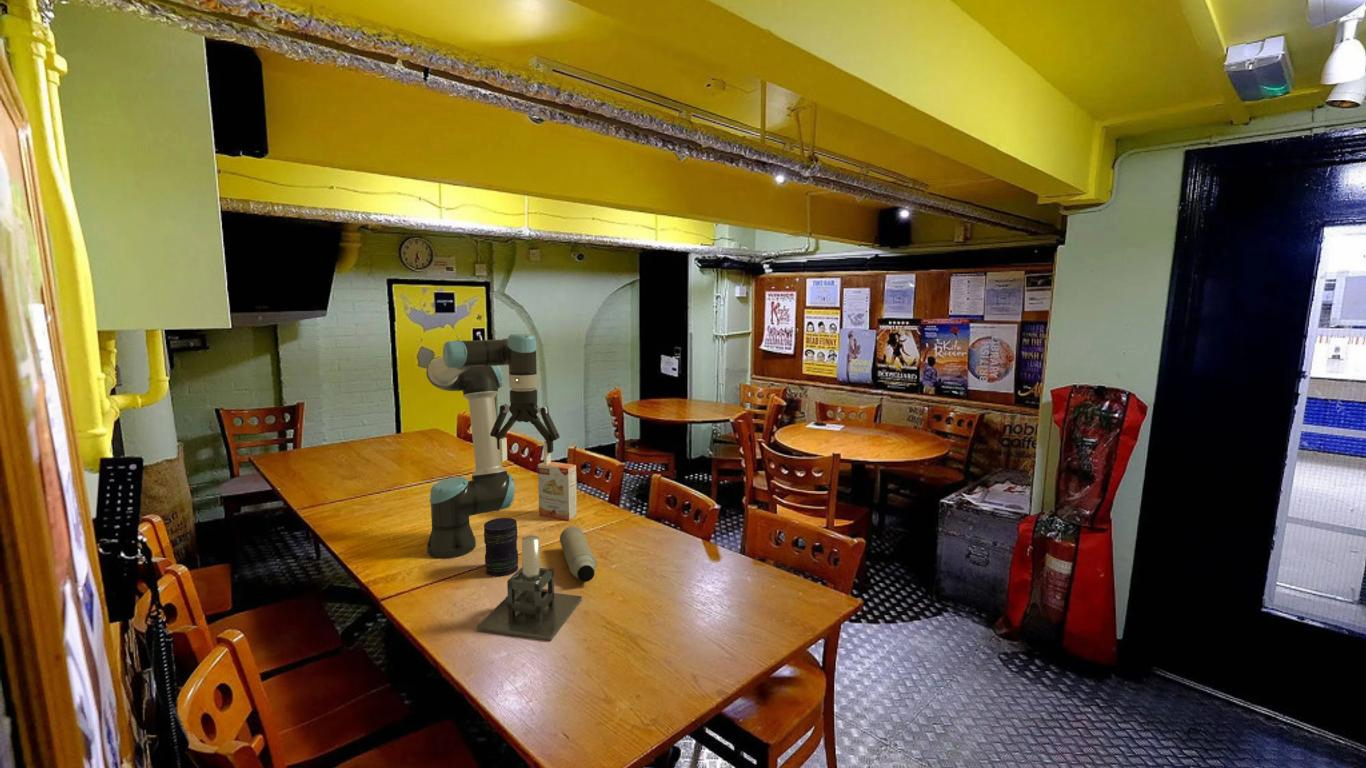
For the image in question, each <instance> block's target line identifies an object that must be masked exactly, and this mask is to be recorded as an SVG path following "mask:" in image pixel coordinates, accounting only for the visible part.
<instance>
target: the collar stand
mask: <svg viewBox="0 0 1366 768" xmlns="http://www.w3.org/2000/svg"><path fill="white" fill-rule="evenodd" d="M554 575H555V569H554V568H547V567H540V579H539V580H538V581H537V582H533V581H525V580H523V572H522V567H520V569H518V570H517V571H516V572H515V573H513V574H512V576H511V577H510V578H509V579H507V581H506V582H507V583H506V585H507V596H506V597H505V598H504V599H503V600H502V601H501V602H499V604H498V605H497V606H496V607H495V608H494V609H493V610H492V611H491V612H490V613H489V614H488V615H487V616H486V617H485V618H484V619H483V620H481V622H479V624H478V625H477V626H476V631H477V632H484V633H491V634H499V635H505V636H512V637H520V638H527V639H535V640H542V641H549V642H551V641H552V640H553V639H554V638H555V636H556V635H557V634H558V632H559V631H560V630H561V628H562V627H563V625H564V624H565V623H566V622H567V620H568V619H569V618H570V616H571V615H572V614H573V612H574V611H575V610H576V609H577V607H578V606H579V605H580V603H581V602H582V601H583V599H582V598H583V597H582V595H575V594H567V593H559V592H558V593H557V592H555V576H554ZM546 585H547V589H546V588H544V587H546ZM523 590H526V591H535V603H527V602H523ZM524 612H527V613H535V614H534V615H527V614H524Z"/></svg>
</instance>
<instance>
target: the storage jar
mask: <svg viewBox="0 0 1366 768" xmlns="http://www.w3.org/2000/svg"><path fill="white" fill-rule="evenodd" d="M517 522H518V521H517V520H516V519H514V518H512V517H511V518H510V517H497V518H493V519H490V520H488V521H486V522H485V523H484V524H483V528H484V529H483V530H484V532H483V538H484V539H483V541H484V545H485V554H484V564H485V565H484V566H485V574H487V576H489V575H490V576H489V577H493V576H494V577H493V578H501V577H502V576H503V577H507V576H510V575H514V574H515V573H516V572H517V571H518V570H519V551H518V548H517V547H518V546H517V545H518V543H517V541H518V525H517V524H518V523H517ZM503 577H502V578H503Z"/></svg>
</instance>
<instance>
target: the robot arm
mask: <svg viewBox="0 0 1366 768" xmlns="http://www.w3.org/2000/svg"><path fill="white" fill-rule="evenodd" d="M537 348H538V347H537V339H536V336H535V335H534V334H533V333H532V334H531V333H512V334H509V335H508V338H502V339H482V340H481V339H480V340H479V339H478V340H477V339H476V340H460V339H457V340H452V341H451V340H450V341H448V340H447V341H446V342H444V344H443V347H442V356H440V357H437V358H435V359H433V360H432V361H430V362H429V364H428V365H427V367H426V373H425V374H426V378H427V380H428V382H429V383H430V384H431V385H432V386H433V387H434V388H437V389H440V390H442V391H447V392H460V391H461V392H462V396H463V397H464V398H465V399H466V400H467V401H468V406H469V407H468V408H469V417H470V427H471V437H472V445H473V457H474V465H475V470H474V471H473V473H472V474H471V480H468V479H467V477H464V476H454V477H448V478H445V479H442V480H440V481H438V482H436V483H435V484H433V485H432V486H431V488H430V494H429V497H430V499H429V503H430V514H431V515H430V517H431V531H430V533H429V534H430V535H429V538H428V541H427V545H426V551H427V552H426V553H427V554H428V555H429V556H430V557H432V558H437V559H451V558H457V557H460V556H464V555H466V554H469V553H471V552H472V551H474V549H476V546H477V544H476V543H477V542H476V541H477V540H476V537H475V535H474V532H473V530H472V527H471V525H470V517H472V516H475V515H482V514H486V513H487V514H488V513H492V512H500V511H502V510H506V509H508V508H510V507H511V506H512V504H513V501H514V499H515V494H516V493H515V491H516V490H515V489H516V488H515V487H516V486H515V481H514V477H513V475H511V474H509V473H508V470H507V468H505V467H504V466H503V464H502V463H503V462H505V461H507V460H508V443H507V439H508V438H507V437H505V436H506V435H507V433H508V431H510V430H511V428H512V427H513V426H514V425H515V423H516V422H517V423H521V422H522V423H523V422H524V423H529V422H530V424H532V425H533V426H534V428H535V429H536V430H537V431H538V433H539V434H540V435H541V436H542V438H543V439H544V442H543V462H544V465H548V464H549V463H551V462H552V461H551V460H552V457H551V456H552V455H551V454H552V453H553V451H554V441H557V440H559V439H560V437H561V436H560V433H559V432H558V430H557V428H556V425H555V424H554V421H553V419H552V417H551V415H550V412H549V411H550V410H549V407H548V406H547V405H546V406H543V407H539V406H538V390H537V388H538V375H537V374H538V373H537V372H538V371H537V369H538V368H537V366H538V365H537ZM501 366H508V377H509V379H508V381H509V388H510V390H509V403H510V405H508V404H506V403H505V404H502V405H500V406H499V411H498V415H497V410H496V400H495V398H496V396H497V395H498V393H499V389H500V388H502V386H503V379H504V378H503V372H502V369H501V368H502V367H501ZM509 412H510V413H511V416H510V417H509V418H508V420H507V422H506V423H505V424H504V421H505V419H506V417H507V415H508V413H509ZM538 414H539V415H540V416H541V419H542V421H543V422H544V423H543V422H542V421H541V419H540V417H539V415H538ZM503 424H504V426H503ZM502 426H503V427H502Z"/></svg>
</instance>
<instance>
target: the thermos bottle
mask: <svg viewBox="0 0 1366 768" xmlns="http://www.w3.org/2000/svg"><path fill="white" fill-rule="evenodd" d="M559 541H560V545H561V549H562V551H563V554H564V557H565V559H566V563H567V566H568V568H569V571H570V573H571V575H572V576H573V577H575V578H577V579H579V581H580V582H583V583H587V582H590V581H591V580H592V579H593V578H594V576H595V571H596V567H597V561H596V558H595V556H594V554H593V550H592V549H591V547H590V545H589V543H588V540H587V538H586V536H585V534H584V532H583V530H582V529H581V528H580V527H578V526H574V525H572V526H568V527H565V528H564V529H563V530H562V531H561V533H560V535H559Z"/></svg>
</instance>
